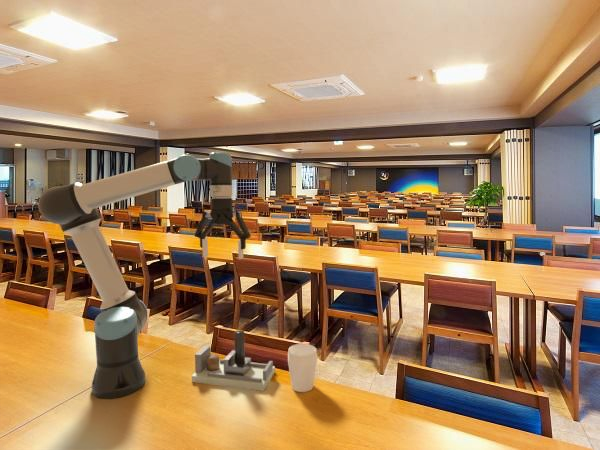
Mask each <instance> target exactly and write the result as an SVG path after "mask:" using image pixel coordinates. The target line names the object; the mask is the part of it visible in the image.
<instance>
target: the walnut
mask: <svg viewBox="0 0 600 450" xmlns="http://www.w3.org/2000/svg"><path fill="white" fill-rule="evenodd" d="M219 360H220V355H219V354H214V353H212V354H211V355H209V356H207V370H208V371H217V370H219V368H220V367H219Z"/></svg>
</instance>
